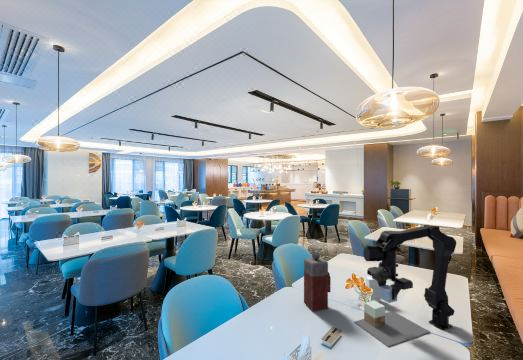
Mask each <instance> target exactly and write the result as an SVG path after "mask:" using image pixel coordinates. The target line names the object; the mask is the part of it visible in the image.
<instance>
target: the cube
mask: <svg viewBox="0 0 523 360" xmlns="http://www.w3.org/2000/svg"><path fill="white" fill-rule="evenodd" d="M379 298H380V299H381V300H382V301H384V302H386V303H388V304H390V303H394V302H395V303H396V302H397V301H398V296H397V297H396V298H395V300H392V287H391V286H390V284H386V285H384V286H379Z"/></svg>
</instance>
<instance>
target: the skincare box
mask: <svg viewBox="0 0 523 360" xmlns="http://www.w3.org/2000/svg"><path fill="white" fill-rule="evenodd" d="M366 286H368V287H370V288H372V289H373V294H372V296H371V301H373V300H375V301H377V302H378V303H381V300H382V299H380V298H379V285H378V282H377V281H376V280H375V279H372V276H365V287H366Z"/></svg>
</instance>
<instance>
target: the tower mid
mask: <svg viewBox="0 0 523 360" xmlns="http://www.w3.org/2000/svg"><path fill="white" fill-rule="evenodd" d="M363 307H364V308H363V310H364V311H363V313H364V312H366V313H367V314H369V315H371V316H372V317H374V318H378V317H381V316H385V313H386V306H385V305H383V304H382V303H381V302H377V301H375V300H373V301H369V302H368V301H366V302H364V305H363Z"/></svg>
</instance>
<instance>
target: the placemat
mask: <svg viewBox="0 0 523 360" xmlns="http://www.w3.org/2000/svg"><path fill="white" fill-rule="evenodd" d="M353 323H354V324H355V325H357V326H358V327H360V328H361V329H363V331H365V332H367V333H368V334H369V335H370V336H372V337H374V338H375V339H376V340H377V341H379V342H381V344H383V345H385V346H386V347H387V348H389V347H394V346H395V345H398V344H401V343H403V342H406V341H409V340H412V339H415V338H419V337H422V336H424V335H427V334H430V333H431V331H430V330H428V329H427V328H425V327H423V326H421V325H419V324H417V323H416V322H414V321H412V320H410V319H408V318H406V317H404V316H403V315H400V314H399V313H397V312H395V311H394V310H392V311H391V310H390V311H388V312H385V325H382V326H378V327H373V326H372V325H370V324H369V323H367V322H366V321H364V318H361V319H358V320H355V321H353Z"/></svg>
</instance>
